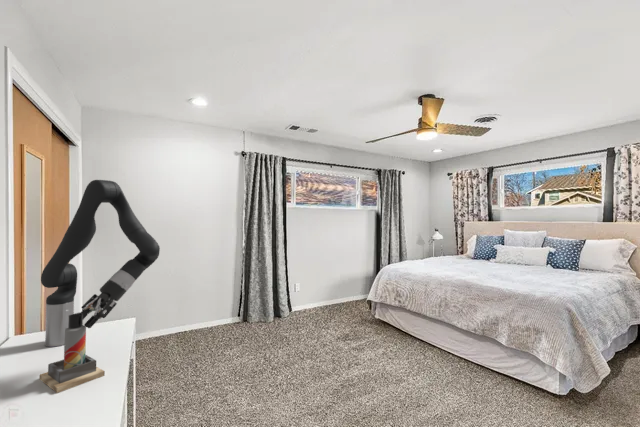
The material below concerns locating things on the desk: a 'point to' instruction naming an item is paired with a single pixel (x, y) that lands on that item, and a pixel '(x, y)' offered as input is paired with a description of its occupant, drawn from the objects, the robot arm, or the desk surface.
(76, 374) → the socket board
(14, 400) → the desk surface
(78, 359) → the lotion bottle
